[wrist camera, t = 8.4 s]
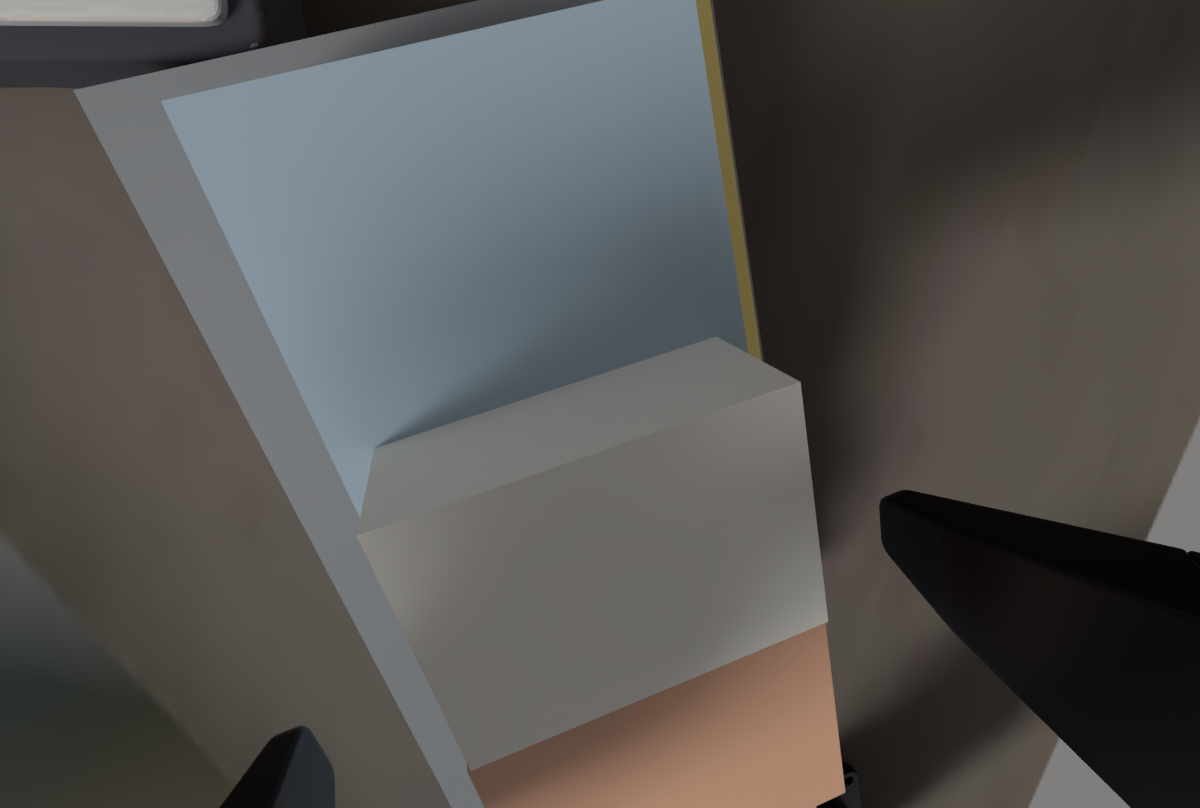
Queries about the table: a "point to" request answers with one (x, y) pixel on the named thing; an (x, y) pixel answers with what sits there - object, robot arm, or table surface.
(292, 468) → the dock
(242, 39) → the grey red white box
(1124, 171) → the table surface
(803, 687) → the salmon brown block
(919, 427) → the table surface
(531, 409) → the off-white block
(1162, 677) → the robot arm
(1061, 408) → the table surface
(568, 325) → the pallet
